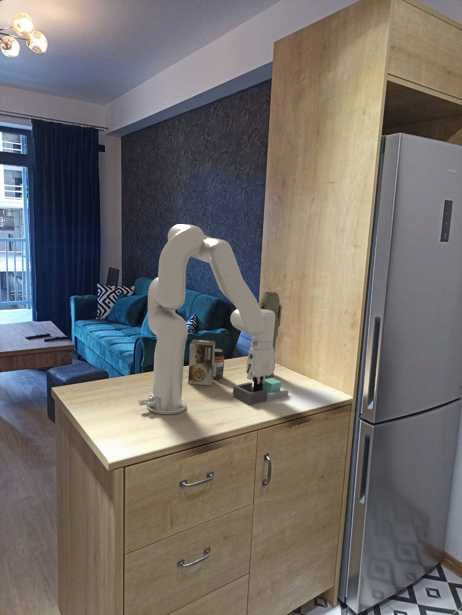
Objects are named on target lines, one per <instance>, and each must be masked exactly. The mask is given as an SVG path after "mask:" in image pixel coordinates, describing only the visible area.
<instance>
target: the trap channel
mask: <svg viewBox="0 0 462 615" xmlns="http://www.w3.org/2000/svg"><path fill="white" fill-rule="evenodd" d="M232 388H233V389H232V397H233V398H235V399H237V400H239V401H241V402H242V403H245V404H247V405H248V406H253V405H256V403H257V404H260V402H261V403H265V402H268V401H272V400H275V399H279V398H283V397H287V396H289V389H286V388H285V389H282V390H281V389H280V391H277V392H273V393H269V394H268V390H266V389H264V390H260V391H256V392H253V382H251V381H249V382H246V383H240V384H237V385H233V386H232Z"/></svg>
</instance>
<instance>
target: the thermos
mask: <svg viewBox="0 0 462 615" xmlns="http://www.w3.org/2000/svg"><path fill="white" fill-rule="evenodd" d="M258 304H259V306H260V309H266V310H271V311H273V312H274V313H275V325H274V335H273V346H272V347H273V348H274V356H276V346H277V345H276V343H277V337H278V335H279V328H280V325H281V317H282V305H281V303H280V296H279V293H278V292H275V291H265V292H263V294H262V296H261V298H260V303H258ZM275 367H276V359H275V360H274V370H275ZM274 375H275V374H274V372H273V373H272V374H271V375H270V376H268V377H266V379H269V378H273V377H274Z"/></svg>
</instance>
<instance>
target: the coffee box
mask: <svg viewBox="0 0 462 615" xmlns="http://www.w3.org/2000/svg"><path fill="white" fill-rule="evenodd" d="M215 349H216V340H215V341H214V340H207V339H206V340H204V339H192V341H191V342H190V344H189V360H188V379H187V384H189V385H190V384H191V385H200V386H209V387H210V386H212V385H213V382H214V379H213V370H214V355H215Z"/></svg>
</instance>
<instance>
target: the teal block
mask: <svg viewBox="0 0 462 615" xmlns="http://www.w3.org/2000/svg"><path fill="white" fill-rule="evenodd" d="M281 386H282V381H281V380H277V379H276V378H273V377H271V378H266V379H265V382H264V383H263V390H264V389H266V390H268V394H269V393H273V392H277V391H281V389H282V388H281Z"/></svg>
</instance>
